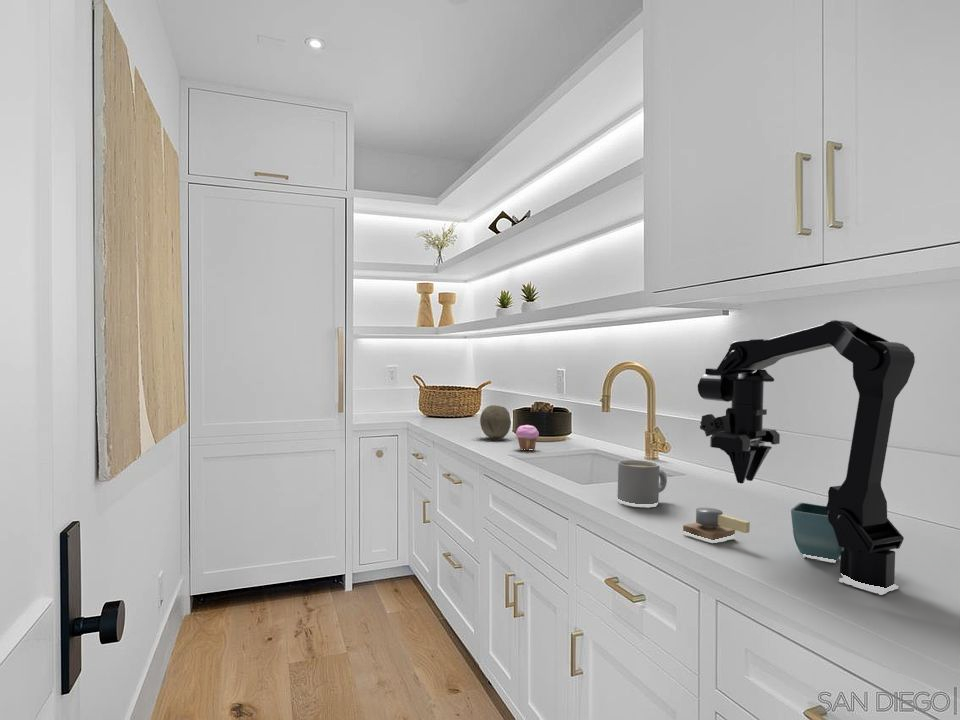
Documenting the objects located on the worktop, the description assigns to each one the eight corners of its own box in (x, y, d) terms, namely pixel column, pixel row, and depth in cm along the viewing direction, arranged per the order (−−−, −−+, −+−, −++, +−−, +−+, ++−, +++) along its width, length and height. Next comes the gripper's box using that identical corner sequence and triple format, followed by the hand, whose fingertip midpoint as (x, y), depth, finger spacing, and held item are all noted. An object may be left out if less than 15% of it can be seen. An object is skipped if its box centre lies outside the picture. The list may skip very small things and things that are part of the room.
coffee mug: (627, 508, 138) (629, 467, 138) (610, 498, 148) (612, 460, 148) (678, 507, 140) (679, 466, 140) (658, 497, 150) (659, 459, 150)
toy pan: (755, 532, 111) (755, 519, 111) (739, 536, 108) (739, 522, 108) (706, 518, 120) (706, 506, 120) (690, 521, 118) (690, 509, 118)
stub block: (734, 539, 116) (734, 526, 116) (712, 544, 112) (713, 531, 112) (704, 530, 122) (705, 518, 122) (683, 534, 118) (683, 522, 118)
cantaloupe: (517, 440, 250) (518, 406, 250) (489, 442, 243) (490, 407, 243) (500, 436, 262) (501, 403, 262) (473, 437, 255) (474, 404, 255)
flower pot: (798, 547, 112) (799, 501, 112) (852, 557, 106) (853, 509, 106) (788, 558, 105) (790, 509, 105) (845, 570, 100) (846, 519, 100)
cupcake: (527, 452, 218) (527, 426, 218) (510, 449, 224) (511, 424, 224) (542, 450, 224) (543, 425, 224) (526, 447, 230) (527, 422, 230)
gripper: (728, 399, 126) (726, 470, 126) (685, 402, 114) (683, 480, 114) (781, 403, 118) (779, 478, 118) (742, 406, 106) (740, 491, 106)
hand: (744, 481), depth 114 cm, fingers open, 4 cm apart
